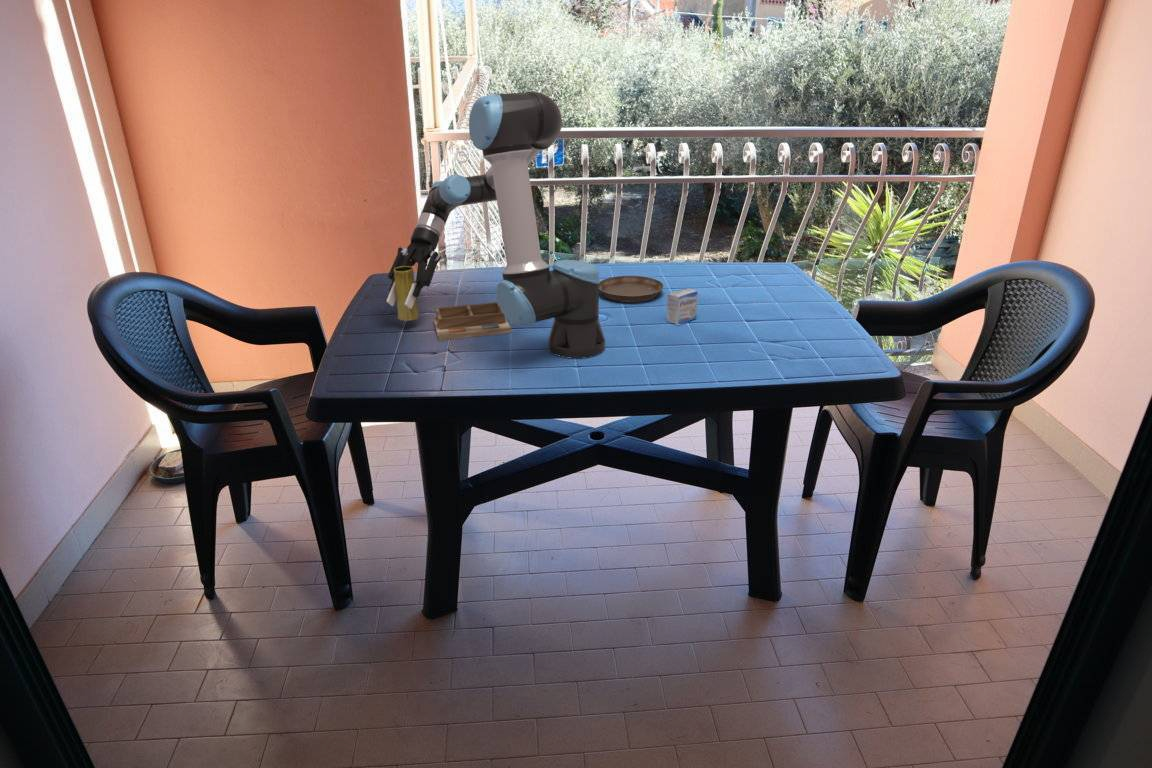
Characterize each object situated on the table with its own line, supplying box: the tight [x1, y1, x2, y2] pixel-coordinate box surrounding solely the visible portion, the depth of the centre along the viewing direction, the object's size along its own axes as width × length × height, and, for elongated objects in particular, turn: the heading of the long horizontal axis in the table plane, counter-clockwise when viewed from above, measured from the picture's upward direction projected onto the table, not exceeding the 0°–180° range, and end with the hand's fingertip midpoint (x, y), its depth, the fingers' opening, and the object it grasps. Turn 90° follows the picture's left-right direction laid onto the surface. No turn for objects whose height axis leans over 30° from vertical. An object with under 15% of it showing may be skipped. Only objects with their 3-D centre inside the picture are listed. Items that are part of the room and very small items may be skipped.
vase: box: [394, 266, 420, 322], centre depth 219 cm, size 6×6×14 cm
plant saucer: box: [599, 275, 665, 303], centre depth 246 cm, size 21×21×3 cm
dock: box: [433, 301, 512, 341], centre depth 221 cm, size 14×20×4 cm
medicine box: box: [666, 287, 699, 325], centre depth 224 cm, size 8×4×9 cm, turn 129°
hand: (398, 304), depth 217 cm, fingers closed on vase, 5 cm apart
